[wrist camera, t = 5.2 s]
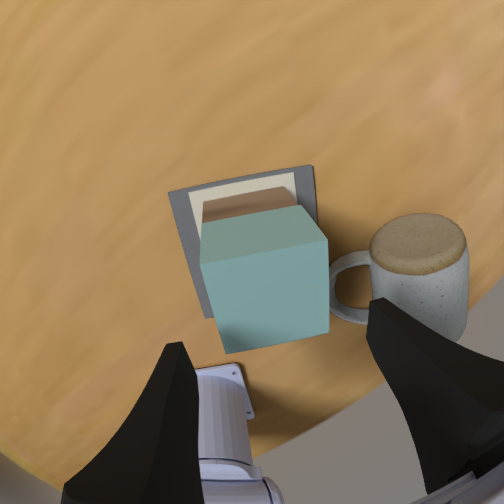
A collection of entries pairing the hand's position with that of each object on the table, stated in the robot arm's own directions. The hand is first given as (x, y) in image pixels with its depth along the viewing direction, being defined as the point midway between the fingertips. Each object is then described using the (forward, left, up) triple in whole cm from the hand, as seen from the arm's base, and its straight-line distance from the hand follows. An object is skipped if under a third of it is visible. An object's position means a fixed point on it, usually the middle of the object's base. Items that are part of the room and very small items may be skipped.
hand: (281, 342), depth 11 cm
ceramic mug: (-5, -10, -11) cm, 16 cm away
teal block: (0, 0, -6) cm, 6 cm away
